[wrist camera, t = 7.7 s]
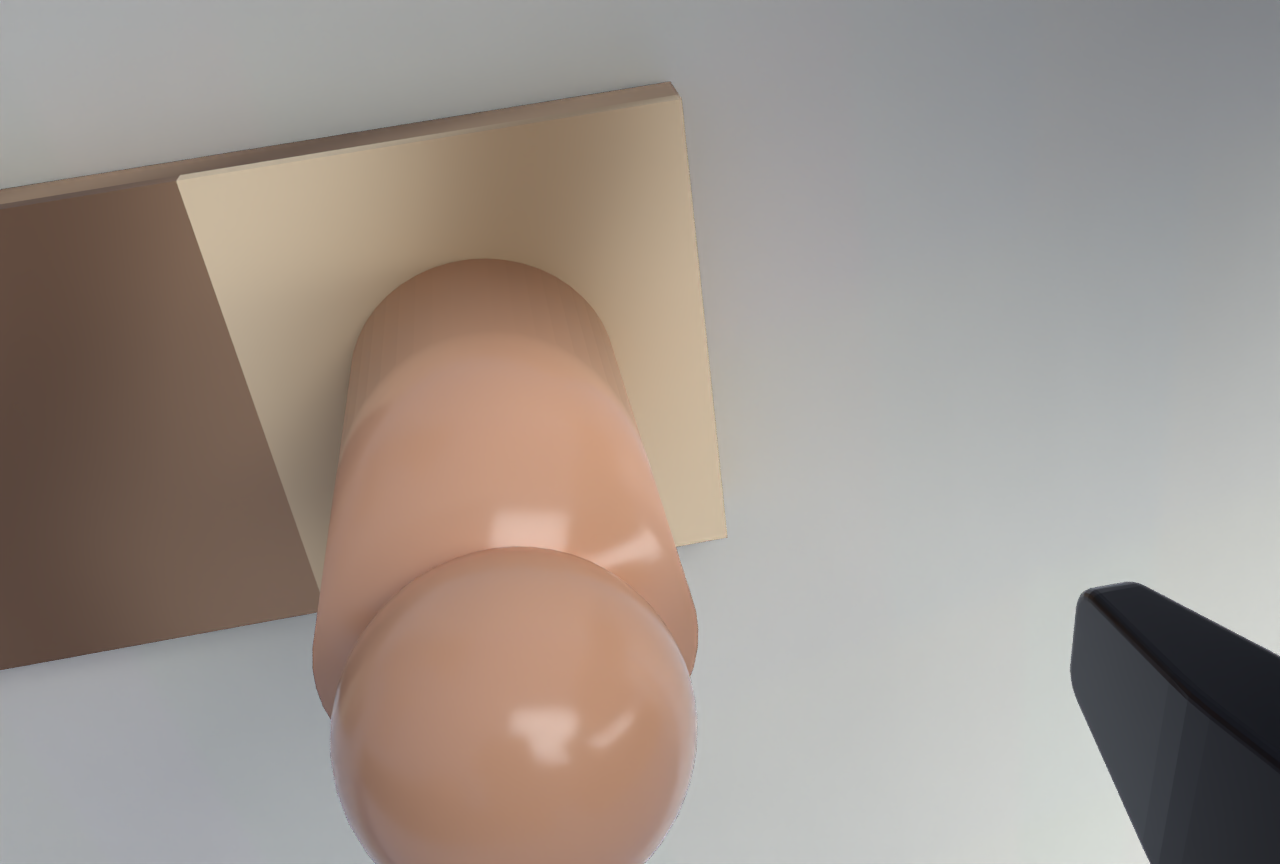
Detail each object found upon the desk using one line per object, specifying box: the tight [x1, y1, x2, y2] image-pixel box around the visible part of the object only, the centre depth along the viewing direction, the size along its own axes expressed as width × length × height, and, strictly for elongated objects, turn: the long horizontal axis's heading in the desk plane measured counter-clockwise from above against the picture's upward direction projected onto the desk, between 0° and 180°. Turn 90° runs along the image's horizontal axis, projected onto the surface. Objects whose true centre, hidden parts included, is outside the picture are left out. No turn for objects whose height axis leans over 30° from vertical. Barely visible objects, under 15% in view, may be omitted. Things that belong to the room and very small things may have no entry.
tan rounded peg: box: [313, 259, 698, 864], centre depth 11 cm, size 3×3×7 cm
